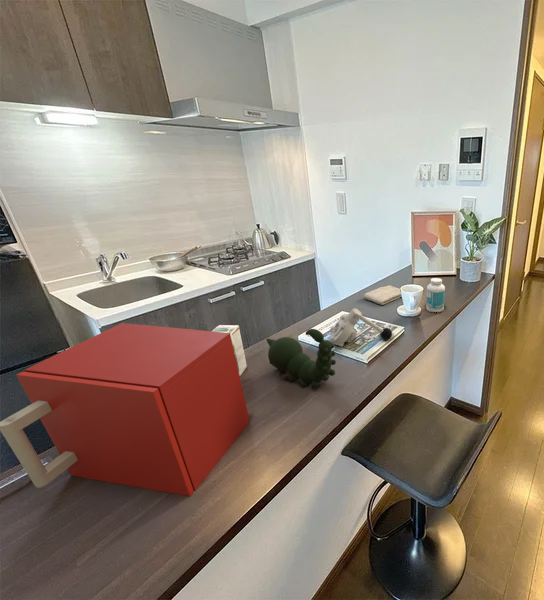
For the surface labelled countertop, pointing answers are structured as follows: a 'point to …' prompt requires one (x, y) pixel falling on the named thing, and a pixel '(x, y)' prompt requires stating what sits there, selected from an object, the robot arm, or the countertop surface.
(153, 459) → the door
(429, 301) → the pill bottle
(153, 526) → the countertop surface
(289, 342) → the toy figurine
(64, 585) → the countertop surface
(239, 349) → the syrup box
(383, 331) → the mechanical valve
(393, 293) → the washcloth
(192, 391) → the red cupboard
